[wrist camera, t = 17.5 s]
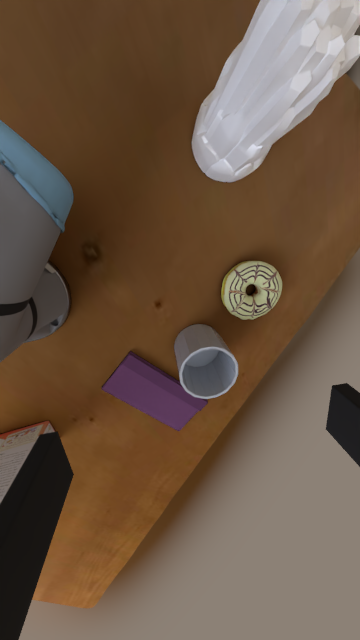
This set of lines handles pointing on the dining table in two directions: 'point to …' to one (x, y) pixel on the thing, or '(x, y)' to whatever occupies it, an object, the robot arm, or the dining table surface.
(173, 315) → the dining table surface
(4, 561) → the robot arm
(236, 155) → the decorative vase
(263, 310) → the decorated donut
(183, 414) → the plum cloth
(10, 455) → the cracker box
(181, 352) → the gray cup
